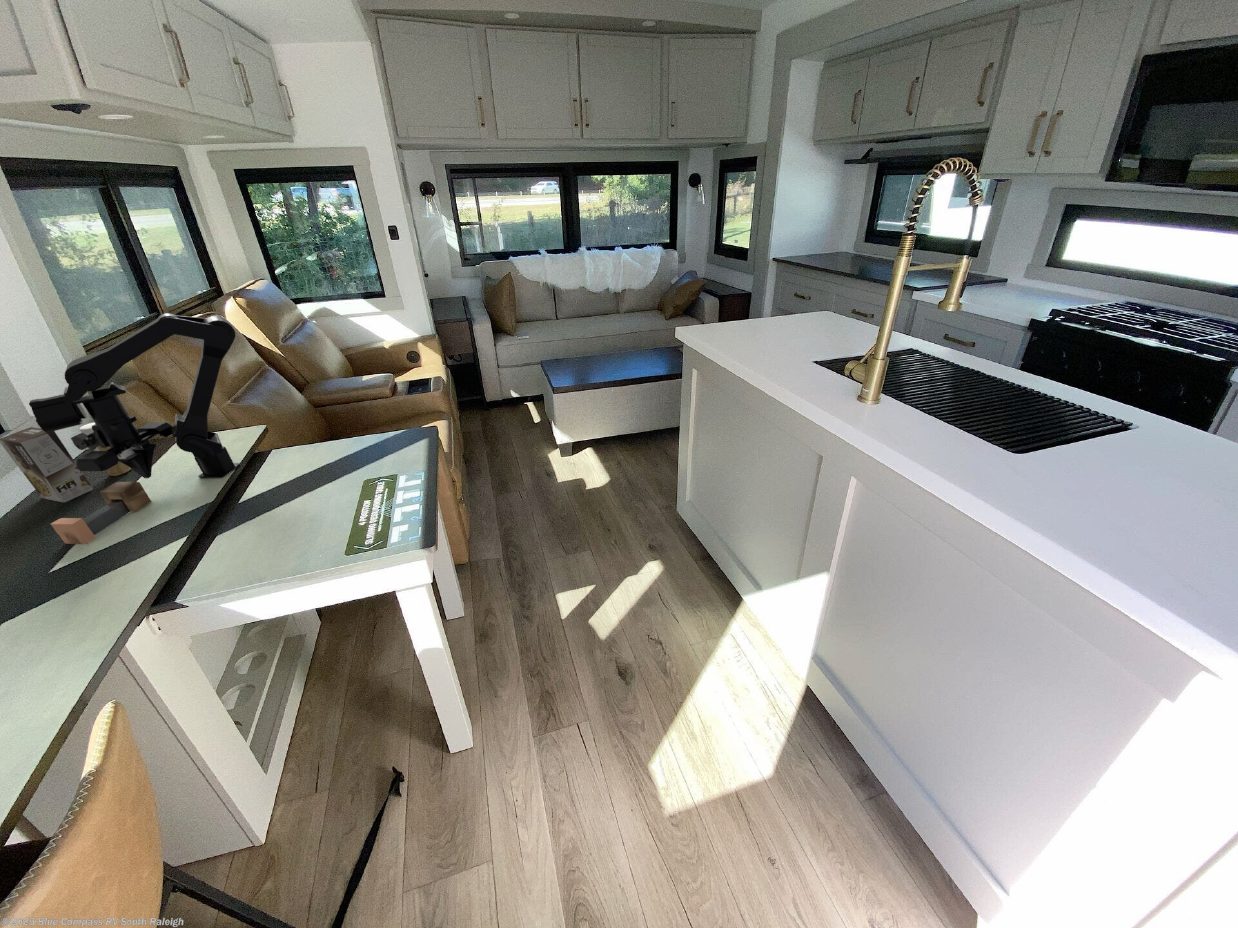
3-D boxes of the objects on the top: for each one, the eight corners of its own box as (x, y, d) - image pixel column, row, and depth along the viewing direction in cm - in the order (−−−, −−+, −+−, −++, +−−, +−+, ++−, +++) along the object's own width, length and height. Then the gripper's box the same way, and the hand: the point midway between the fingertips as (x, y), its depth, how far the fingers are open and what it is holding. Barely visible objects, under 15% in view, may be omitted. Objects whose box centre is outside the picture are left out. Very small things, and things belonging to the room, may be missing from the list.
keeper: (128, 501, 119) (116, 481, 116) (151, 501, 118) (139, 481, 116) (112, 511, 116) (99, 491, 113) (135, 511, 115) (123, 491, 112)
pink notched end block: (74, 537, 108) (60, 518, 105) (96, 537, 107) (82, 518, 105) (65, 543, 106) (50, 524, 104) (86, 543, 106) (72, 524, 103)
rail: (139, 499, 120) (132, 488, 118) (149, 499, 120) (142, 488, 118) (70, 543, 106) (62, 531, 105) (81, 543, 106) (72, 532, 104)
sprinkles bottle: (130, 472, 132) (101, 425, 125) (108, 478, 130) (76, 430, 123) (133, 465, 135) (104, 419, 128) (111, 471, 133) (80, 424, 126)
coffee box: (95, 489, 125) (55, 429, 117) (63, 503, 120) (19, 442, 112) (72, 484, 128) (31, 426, 120) (40, 498, 123) (-5, 438, 115)
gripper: (117, 400, 122) (151, 457, 129) (33, 436, 105) (77, 500, 113) (160, 399, 120) (191, 457, 128) (81, 436, 104) (123, 500, 112)
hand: (147, 477), depth 120 cm, fingers closed
